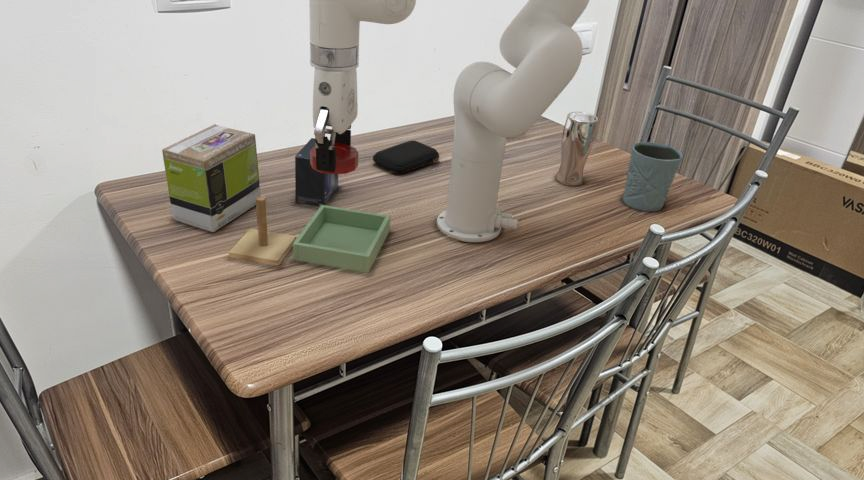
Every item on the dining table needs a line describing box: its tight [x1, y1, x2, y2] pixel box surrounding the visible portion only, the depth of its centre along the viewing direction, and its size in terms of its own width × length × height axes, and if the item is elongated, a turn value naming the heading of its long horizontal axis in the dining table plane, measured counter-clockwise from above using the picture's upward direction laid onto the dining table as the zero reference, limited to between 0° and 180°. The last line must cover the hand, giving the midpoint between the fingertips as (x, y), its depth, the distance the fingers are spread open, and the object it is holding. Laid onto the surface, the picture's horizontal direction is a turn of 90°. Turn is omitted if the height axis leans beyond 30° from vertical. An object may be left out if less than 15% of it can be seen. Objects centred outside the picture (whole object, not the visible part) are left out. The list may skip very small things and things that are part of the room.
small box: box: [294, 137, 339, 208], centre depth 139 cm, size 11×6×10 cm, turn 168°
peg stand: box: [228, 195, 297, 267], centre depth 119 cm, size 9×9×10 cm
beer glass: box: [555, 111, 599, 187], centre depth 152 cm, size 7×7×15 cm
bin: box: [292, 205, 391, 274], centre depth 124 cm, size 14×16×4 cm
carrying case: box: [372, 140, 440, 175], centre depth 157 cm, size 11×3×15 cm
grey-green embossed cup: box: [622, 141, 683, 212], centre depth 145 cm, size 10×10×12 cm
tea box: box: [161, 123, 262, 233], centre depth 129 cm, size 15×10×15 cm, turn 154°
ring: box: [310, 143, 359, 175], centre depth 115 cm, size 8×8×2 cm
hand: (333, 160), depth 115 cm, fingers closed on ring, 7 cm apart
